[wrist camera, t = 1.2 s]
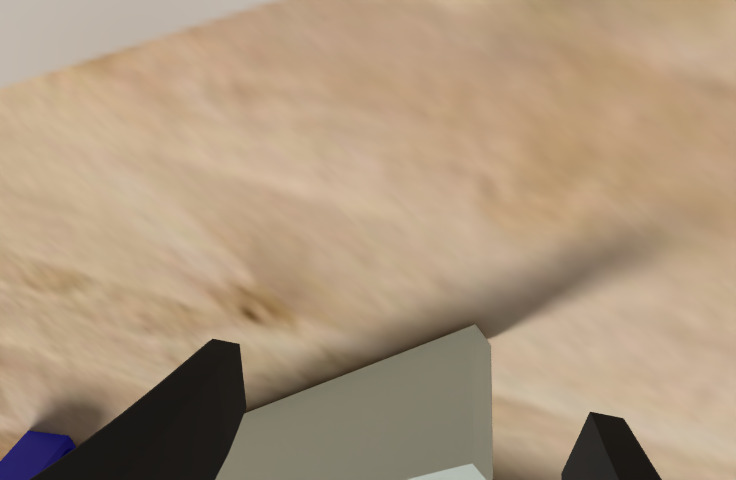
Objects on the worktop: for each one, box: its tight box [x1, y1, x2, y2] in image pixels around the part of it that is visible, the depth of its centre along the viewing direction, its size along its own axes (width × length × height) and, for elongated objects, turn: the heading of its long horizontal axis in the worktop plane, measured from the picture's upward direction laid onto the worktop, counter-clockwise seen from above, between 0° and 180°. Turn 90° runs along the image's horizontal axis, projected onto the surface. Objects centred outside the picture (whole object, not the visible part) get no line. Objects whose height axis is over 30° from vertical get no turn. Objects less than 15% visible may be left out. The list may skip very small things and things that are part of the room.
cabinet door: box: [215, 324, 493, 480], centre depth 21 cm, size 20×1×6 cm, turn 126°
